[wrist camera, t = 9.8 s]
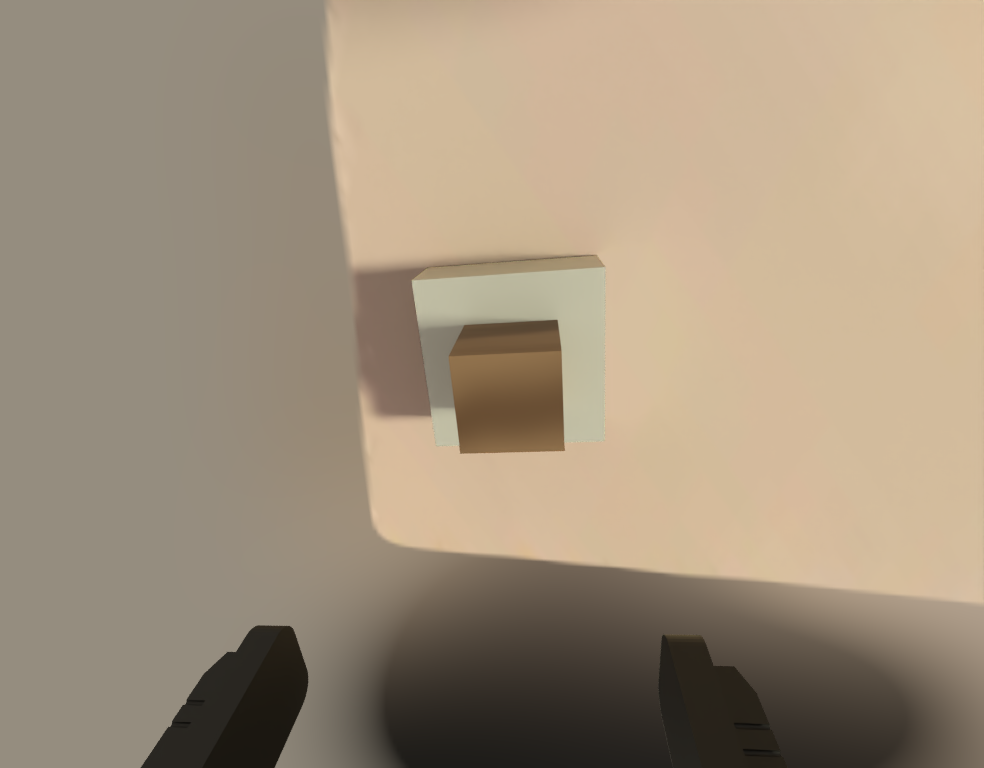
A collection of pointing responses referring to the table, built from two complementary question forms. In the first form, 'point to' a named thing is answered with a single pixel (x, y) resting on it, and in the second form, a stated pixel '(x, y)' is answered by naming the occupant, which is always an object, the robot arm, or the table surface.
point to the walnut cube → (508, 387)
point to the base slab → (518, 298)
